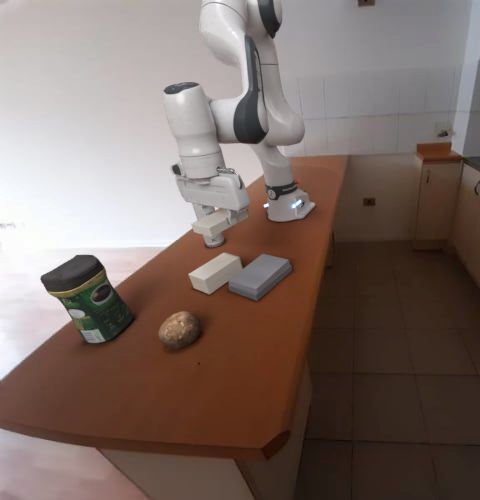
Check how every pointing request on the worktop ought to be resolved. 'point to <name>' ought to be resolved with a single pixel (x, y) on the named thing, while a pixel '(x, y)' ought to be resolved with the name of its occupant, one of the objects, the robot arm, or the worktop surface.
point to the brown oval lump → (179, 330)
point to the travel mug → (209, 241)
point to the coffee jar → (88, 298)
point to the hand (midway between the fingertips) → (221, 221)
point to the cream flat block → (217, 222)
